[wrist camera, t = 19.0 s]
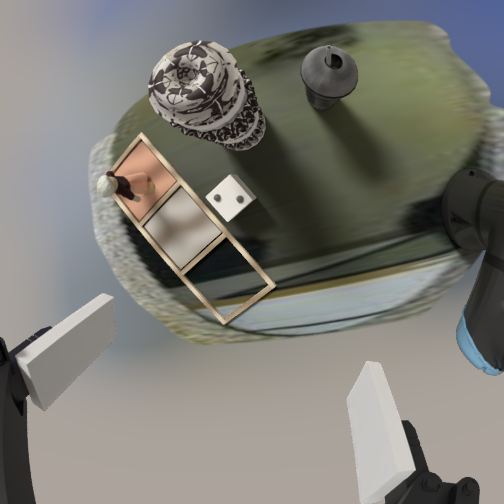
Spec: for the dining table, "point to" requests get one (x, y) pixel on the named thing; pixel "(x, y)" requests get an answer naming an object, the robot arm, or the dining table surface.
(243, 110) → the decorative candle
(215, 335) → the dining table surface
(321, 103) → the beverage cup
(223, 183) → the ivory die
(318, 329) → the dining table surface
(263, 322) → the dining table surface
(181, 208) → the wooden flat rectangular frame
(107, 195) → the grandmother figurine
